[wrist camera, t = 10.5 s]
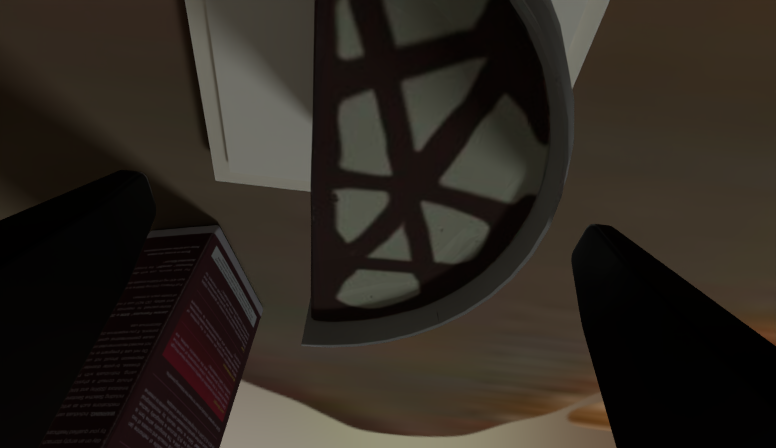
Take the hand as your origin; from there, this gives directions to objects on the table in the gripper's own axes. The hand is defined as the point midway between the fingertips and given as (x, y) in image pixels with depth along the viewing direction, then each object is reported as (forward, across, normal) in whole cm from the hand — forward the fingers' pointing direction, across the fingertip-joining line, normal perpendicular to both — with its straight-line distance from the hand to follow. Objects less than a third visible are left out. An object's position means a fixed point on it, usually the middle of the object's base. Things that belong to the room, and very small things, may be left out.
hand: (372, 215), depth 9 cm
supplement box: (+13, +10, +17) cm, 23 cm away
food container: (+11, -2, 0) cm, 11 cm away
